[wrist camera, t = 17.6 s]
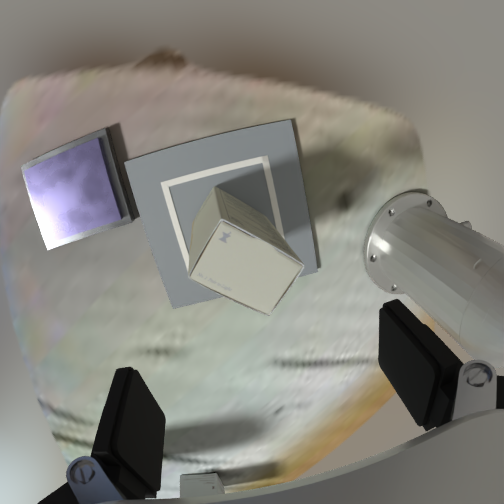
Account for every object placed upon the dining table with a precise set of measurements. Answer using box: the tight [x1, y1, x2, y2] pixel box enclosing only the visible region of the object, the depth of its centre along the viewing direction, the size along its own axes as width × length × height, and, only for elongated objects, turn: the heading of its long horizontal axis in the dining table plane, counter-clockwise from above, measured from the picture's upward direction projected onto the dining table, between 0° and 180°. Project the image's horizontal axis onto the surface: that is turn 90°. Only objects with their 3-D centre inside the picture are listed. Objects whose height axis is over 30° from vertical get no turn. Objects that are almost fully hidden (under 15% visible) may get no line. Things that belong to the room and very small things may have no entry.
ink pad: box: [21, 128, 135, 250], centre depth 26 cm, size 10×9×2 cm
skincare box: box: [188, 187, 305, 316], centre depth 24 cm, size 6×4×12 cm
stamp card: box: [124, 120, 318, 309], centre depth 30 cm, size 16×16×1 cm
